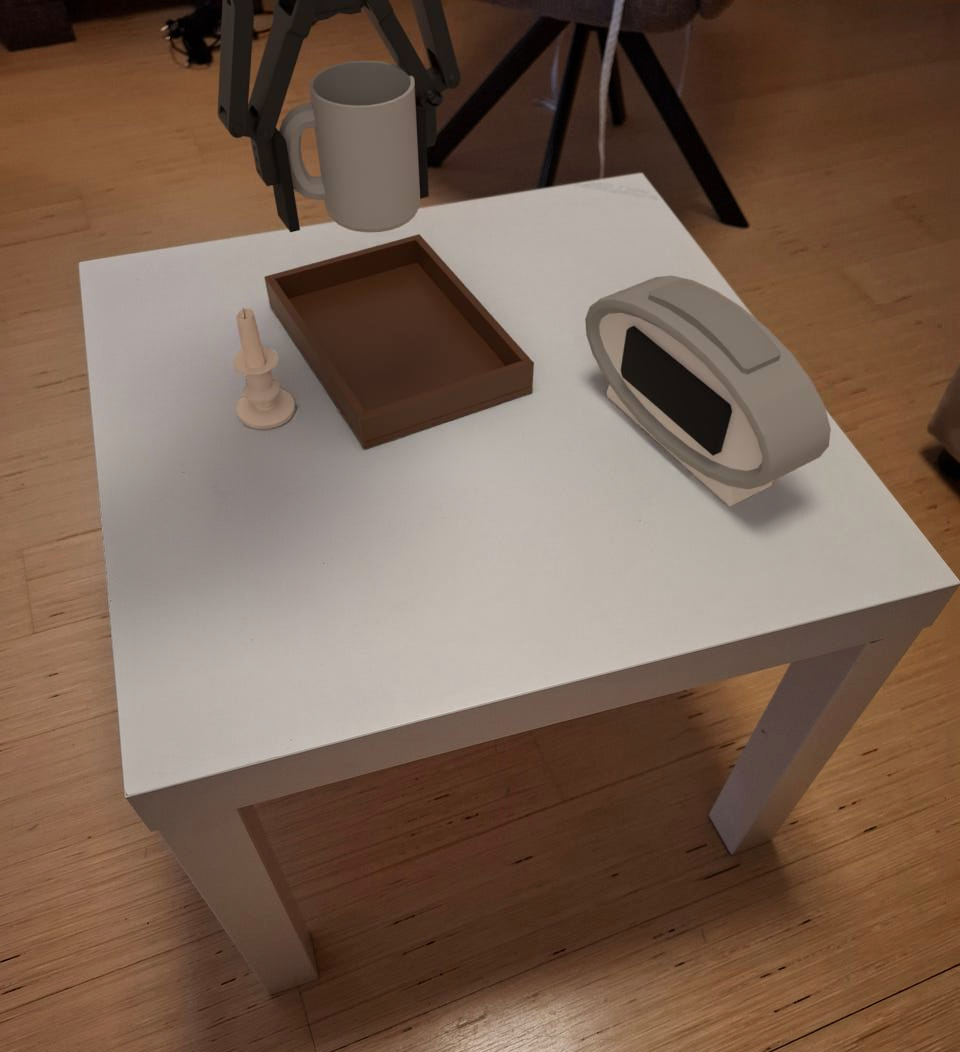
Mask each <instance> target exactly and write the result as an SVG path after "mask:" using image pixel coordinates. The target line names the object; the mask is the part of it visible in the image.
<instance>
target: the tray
mask: <svg viewBox="0 0 960 1052" xmlns="http://www.w3.org/2000/svg"><path fill="white" fill-rule="evenodd" d="M263 278H264V283H265V287H266V293H267V298H268V302H269V307H270V308H271V310H272V311H273V313H274V314H275V317H277V319H278V321H279V322H280V323H281V325H282V327H283V328H284V330H285V332H286V333H287V334H288V336H289V337H290V339H291V341H292V342H293V343H294V345H295V346H296V348H297V349H298V351H299V352H300V354H301V355H302V357H303V358H304V360H305V361H306V363H307V365H308V366H309V367H310V369H311V370H312V372H313V373H314V375H315V376H316V378H317V380H318V381H319V383H320V384H321V386H322V387H323V389H324V390H325V392H326V393H327V395H328V396H329V398H330V400H331V401H332V402H333V404H334V405H335V407H336V408H337V410H338V412H339V413H340V415H341V416H342V418H343V420H344V421H345V422H346V424H347V425H348V427H349V428H350V429H351V431H352V433H353V434H354V436H355V437H356V439H357V440H358V442H359V444H360V445H361V446H362V448H363V449H364V450H367V449H371V448H373V447H376V446H380V445H382V444H385V443H388V442H392V441H394V440H397V439H400V438H403V437H406V436H408V435H412V434H415V433H417V432H421V431H423V430H427V429H430V428H432V427H435V426H438V425H441V424H445V423H447V422H450V421H452V420H453V421H454V420H456V419H460V418H462V417H465V416H468V415H471V414H474V413H476V412H480V411H482V410H483V411H484V410H486V409H489V408H491V407H494V406H498V405H501V404H503V403H506V402H509V401H512V400H516V399H518V398H521V397H524V396H527V395H531V394H532V393H533V385H534V373H535V372H534V369H535V362H534V361H533V360H532V359H531V358H530V356H529V355H528V354H527V353H526V352H525V351H524V350H523V349H522V348H521V346H520V345H519V344H518V343H517V342H516V341H515V340H514V338H513V337H512V336H511V335H510V334H509V333H508V332H507V331H506V330H505V328H504V327H503V326H502V325H501V324H500V323H499V321H498V320H496V319H495V318H494V316H493V315H492V314H491V313H490V312H489V310H488V309H487V308H486V306H484V305H483V304H482V302H480V300H479V299H478V298H477V297H476V295H474V294H473V293H472V291H471V290H470V289H469V288H468V287H467V286H466V285H465V283H463V281H462V280H461V279H460V278H459V277H458V275H457V274H456V273H454V271H453V270H452V269H451V268H450V267H449V266H448V265H447V263H446V262H445V261H444V260H443V259H442V258H441V257H440V255H439V254H438V253H437V252H436V251H435V249H433V247H432V246H431V245H430V244H429V242H428V241H426V240H425V239H424V238H423V236H422V235H421V234H419V233H418V234H414V235H410V236H407V237H403V238H399V239H397V240H393V241H389V242H386V243H382V244H378V245H375V246H371V247H367V248H363V249H360V250H357V251H353V252H348V253H345V254H342V255H338V256H334V257H331V258H327V259H324V260H320V261H316V262H313V263H309V264H305V265H302V266H298V267H294V268H291V269H287V270H283V271H280V272H277V273H273V274H268V275H266V276H264V277H263Z"/></svg>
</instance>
